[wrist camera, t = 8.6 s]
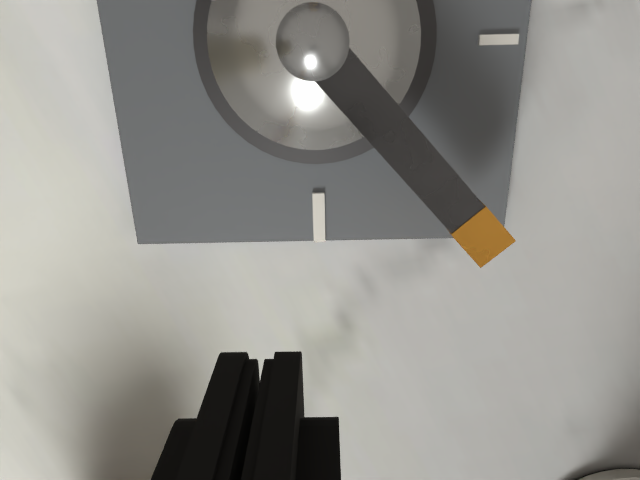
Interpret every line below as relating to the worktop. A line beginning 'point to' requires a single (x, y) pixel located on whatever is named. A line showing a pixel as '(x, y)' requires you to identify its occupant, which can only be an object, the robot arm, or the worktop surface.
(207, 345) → the worktop surface
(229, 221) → the panel
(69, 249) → the worktop surface
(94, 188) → the worktop surface
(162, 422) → the worktop surface
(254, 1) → the dial
